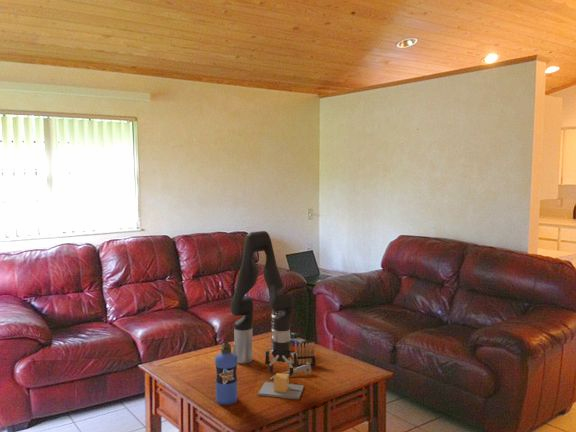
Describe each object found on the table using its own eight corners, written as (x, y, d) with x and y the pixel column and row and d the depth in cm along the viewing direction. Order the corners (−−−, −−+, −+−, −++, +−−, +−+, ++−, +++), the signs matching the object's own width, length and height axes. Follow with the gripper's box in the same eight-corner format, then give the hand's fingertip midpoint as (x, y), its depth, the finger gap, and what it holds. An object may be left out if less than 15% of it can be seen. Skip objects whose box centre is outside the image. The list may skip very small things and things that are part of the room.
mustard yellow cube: (273, 391, 218) (273, 378, 218) (276, 385, 224) (276, 373, 223) (286, 392, 217) (286, 379, 217) (288, 387, 223) (288, 374, 222)
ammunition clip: (314, 364, 251) (314, 341, 250) (315, 365, 249) (315, 342, 248) (293, 365, 250) (293, 342, 249) (294, 366, 248) (294, 343, 247)
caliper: (310, 373, 240) (310, 361, 240) (311, 374, 239) (311, 362, 239) (269, 379, 234) (269, 366, 234) (270, 380, 233) (270, 367, 233)
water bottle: (238, 404, 209) (238, 346, 206) (216, 406, 207) (215, 347, 204) (236, 394, 218) (236, 338, 215) (215, 396, 216) (214, 340, 213)
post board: (258, 395, 216) (258, 383, 216) (265, 383, 228) (265, 372, 228) (298, 399, 213) (298, 386, 212) (303, 387, 224) (303, 375, 224)
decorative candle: (269, 348, 273) (268, 304, 271) (285, 347, 275) (285, 303, 273) (272, 354, 264) (272, 308, 262) (289, 353, 266) (289, 307, 264)
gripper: (263, 340, 216) (263, 376, 218) (296, 343, 213) (295, 379, 215) (268, 334, 223) (267, 369, 225) (299, 337, 221) (298, 372, 222)
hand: (281, 374), depth 220 cm, fingers open, 8 cm apart
